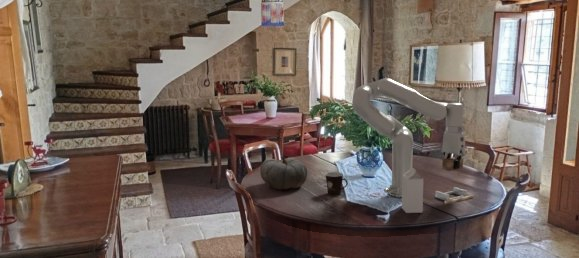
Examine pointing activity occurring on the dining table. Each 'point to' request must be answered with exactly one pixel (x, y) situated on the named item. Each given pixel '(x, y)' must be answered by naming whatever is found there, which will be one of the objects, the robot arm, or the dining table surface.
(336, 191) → the coffee mug
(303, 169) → the gourd
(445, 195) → the keeper
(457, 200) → the door edge strip
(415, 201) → the milk carton
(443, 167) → the brown rectangular block
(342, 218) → the dining table surface
